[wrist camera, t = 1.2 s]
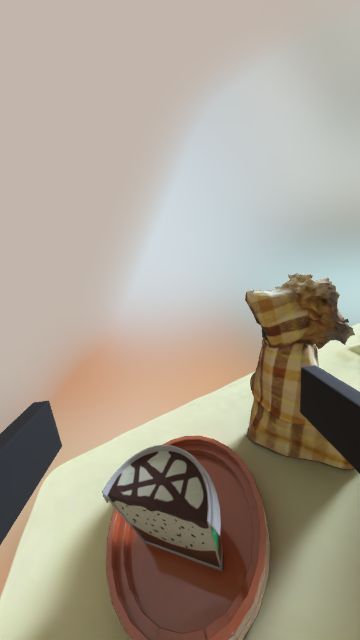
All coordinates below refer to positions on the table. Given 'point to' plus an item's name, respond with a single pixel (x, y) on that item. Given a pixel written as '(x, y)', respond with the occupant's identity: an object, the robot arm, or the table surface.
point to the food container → (169, 503)
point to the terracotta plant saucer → (195, 563)
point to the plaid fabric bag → (292, 364)
